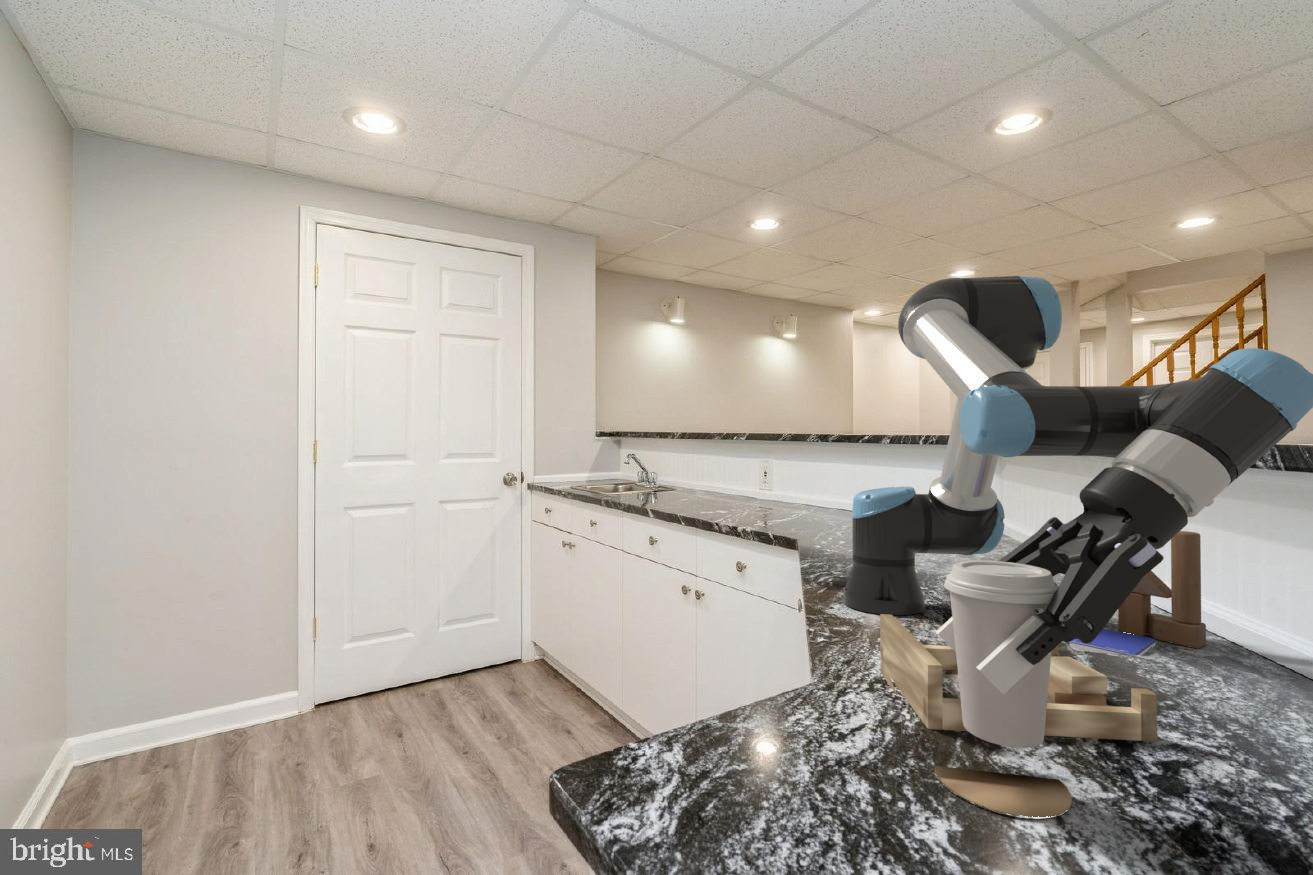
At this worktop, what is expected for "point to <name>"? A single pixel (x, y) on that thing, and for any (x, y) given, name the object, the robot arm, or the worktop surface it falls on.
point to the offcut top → (1076, 676)
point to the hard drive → (1116, 643)
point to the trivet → (1008, 791)
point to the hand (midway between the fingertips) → (966, 660)
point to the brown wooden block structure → (1182, 593)
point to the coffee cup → (983, 620)
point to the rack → (923, 689)
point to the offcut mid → (1073, 697)
